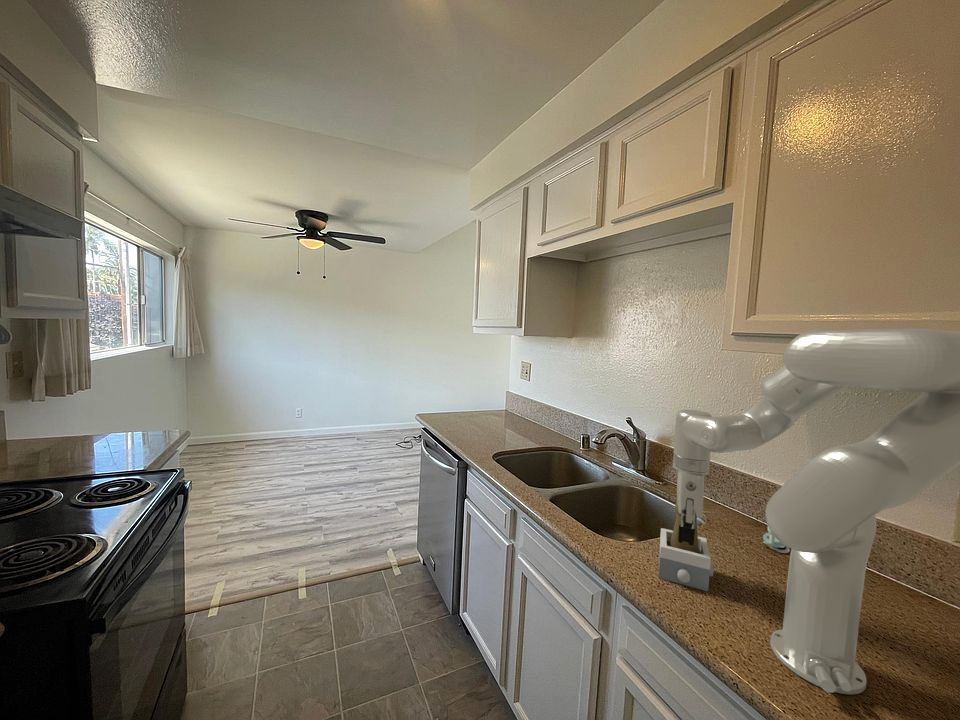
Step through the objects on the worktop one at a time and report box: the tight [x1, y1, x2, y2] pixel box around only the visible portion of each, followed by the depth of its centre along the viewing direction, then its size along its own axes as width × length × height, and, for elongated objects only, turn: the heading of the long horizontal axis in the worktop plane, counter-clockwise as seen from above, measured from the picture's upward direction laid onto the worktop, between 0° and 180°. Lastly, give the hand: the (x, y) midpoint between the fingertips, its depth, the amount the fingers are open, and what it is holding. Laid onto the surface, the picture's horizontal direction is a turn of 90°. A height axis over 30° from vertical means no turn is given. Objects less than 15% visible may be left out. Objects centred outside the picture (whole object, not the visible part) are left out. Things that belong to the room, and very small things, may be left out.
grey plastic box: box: [658, 527, 714, 592], centre depth 91 cm, size 11×11×8 cm
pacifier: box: [762, 526, 791, 554], centre depth 106 cm, size 7×6×6 cm
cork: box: [670, 501, 699, 553], centre depth 91 cm, size 6×6×11 cm
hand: (685, 538), depth 91 cm, fingers closed on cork, 3 cm apart
